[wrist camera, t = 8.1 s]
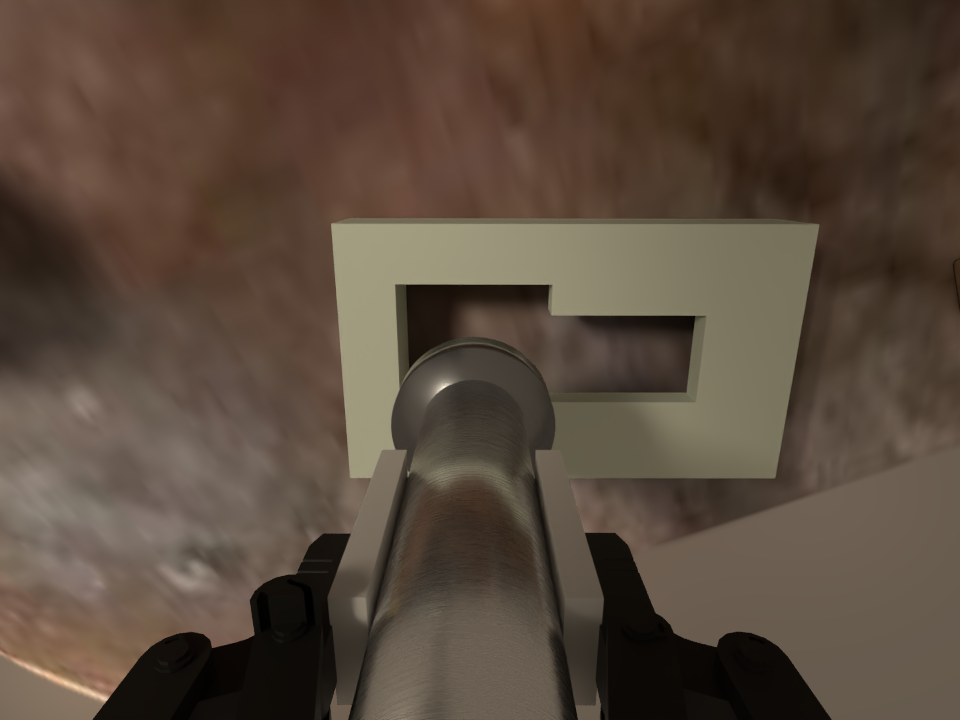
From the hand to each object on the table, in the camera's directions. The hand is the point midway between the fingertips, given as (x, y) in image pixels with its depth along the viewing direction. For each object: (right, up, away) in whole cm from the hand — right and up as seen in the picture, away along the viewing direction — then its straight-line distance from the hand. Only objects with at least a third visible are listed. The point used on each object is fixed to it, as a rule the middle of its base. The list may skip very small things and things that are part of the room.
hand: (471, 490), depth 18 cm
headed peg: (0, +2, +6) cm, 7 cm away
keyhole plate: (+5, +5, +17) cm, 18 cm away
